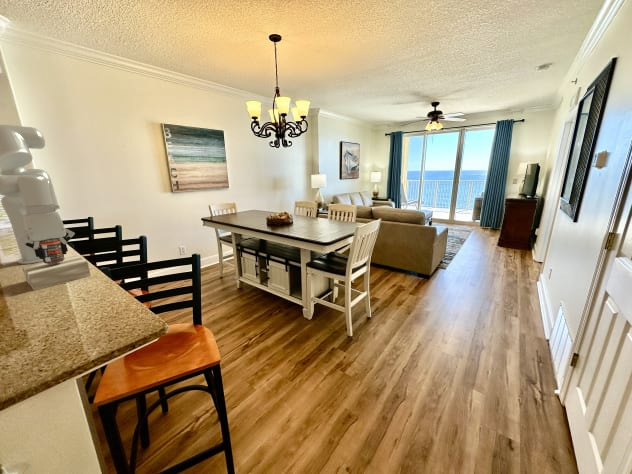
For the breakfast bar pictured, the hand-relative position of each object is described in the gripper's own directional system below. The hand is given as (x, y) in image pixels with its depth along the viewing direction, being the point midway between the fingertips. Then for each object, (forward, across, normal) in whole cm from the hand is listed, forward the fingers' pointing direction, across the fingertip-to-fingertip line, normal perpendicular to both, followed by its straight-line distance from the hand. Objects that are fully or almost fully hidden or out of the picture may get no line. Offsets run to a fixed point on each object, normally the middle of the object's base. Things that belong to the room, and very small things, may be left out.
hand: (53, 255), depth 100 cm
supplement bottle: (+3, 0, 0) cm, 3 cm away
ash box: (+10, 0, 0) cm, 10 cm away
